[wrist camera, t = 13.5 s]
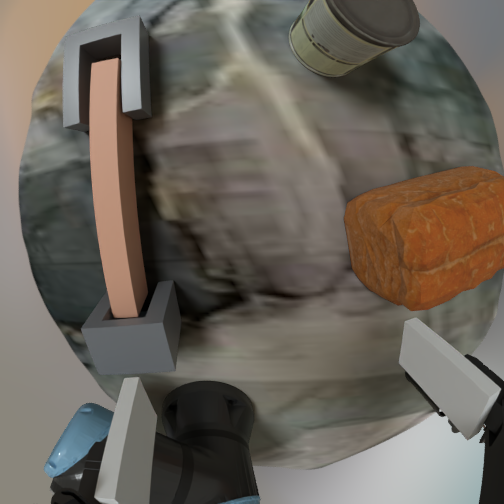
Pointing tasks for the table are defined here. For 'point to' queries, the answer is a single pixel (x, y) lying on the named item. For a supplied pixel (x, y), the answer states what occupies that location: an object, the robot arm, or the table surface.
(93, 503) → the robot arm
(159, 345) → the cap
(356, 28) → the coffee can
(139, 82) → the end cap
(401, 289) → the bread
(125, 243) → the slat
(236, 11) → the table surface
